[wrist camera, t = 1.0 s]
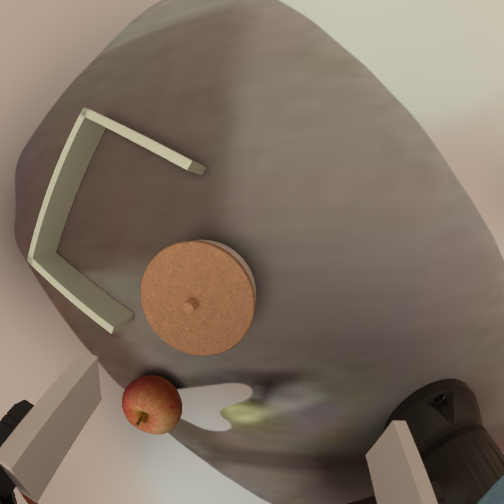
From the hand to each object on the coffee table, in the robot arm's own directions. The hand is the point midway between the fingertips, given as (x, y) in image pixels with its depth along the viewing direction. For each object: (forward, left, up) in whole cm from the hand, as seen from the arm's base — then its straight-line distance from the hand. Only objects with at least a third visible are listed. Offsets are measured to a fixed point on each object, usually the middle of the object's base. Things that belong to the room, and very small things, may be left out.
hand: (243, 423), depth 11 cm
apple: (+5, +21, -22) cm, 31 cm away
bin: (+21, +3, -22) cm, 30 cm away
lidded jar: (+6, +3, -22) cm, 23 cm away
